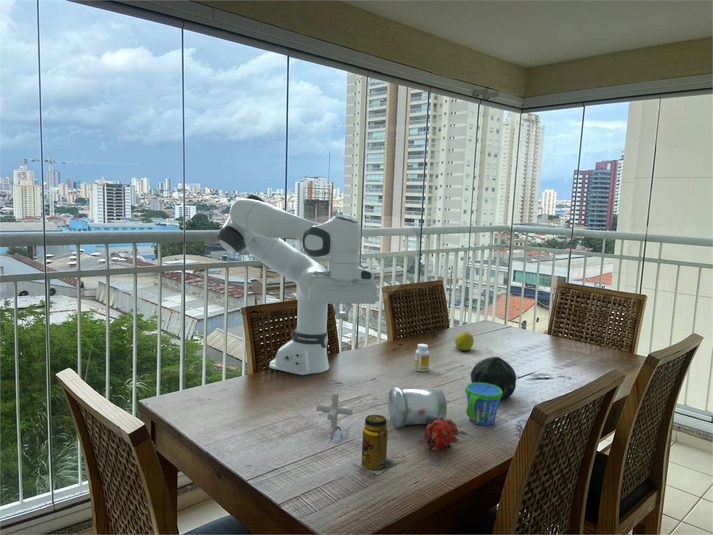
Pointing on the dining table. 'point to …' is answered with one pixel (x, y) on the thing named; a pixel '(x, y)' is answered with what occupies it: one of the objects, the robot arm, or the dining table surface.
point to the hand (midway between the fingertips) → (341, 318)
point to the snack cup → (482, 402)
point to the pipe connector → (334, 410)
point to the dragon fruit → (441, 434)
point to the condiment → (375, 445)
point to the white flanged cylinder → (416, 406)
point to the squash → (495, 375)
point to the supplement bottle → (422, 358)
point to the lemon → (464, 341)
